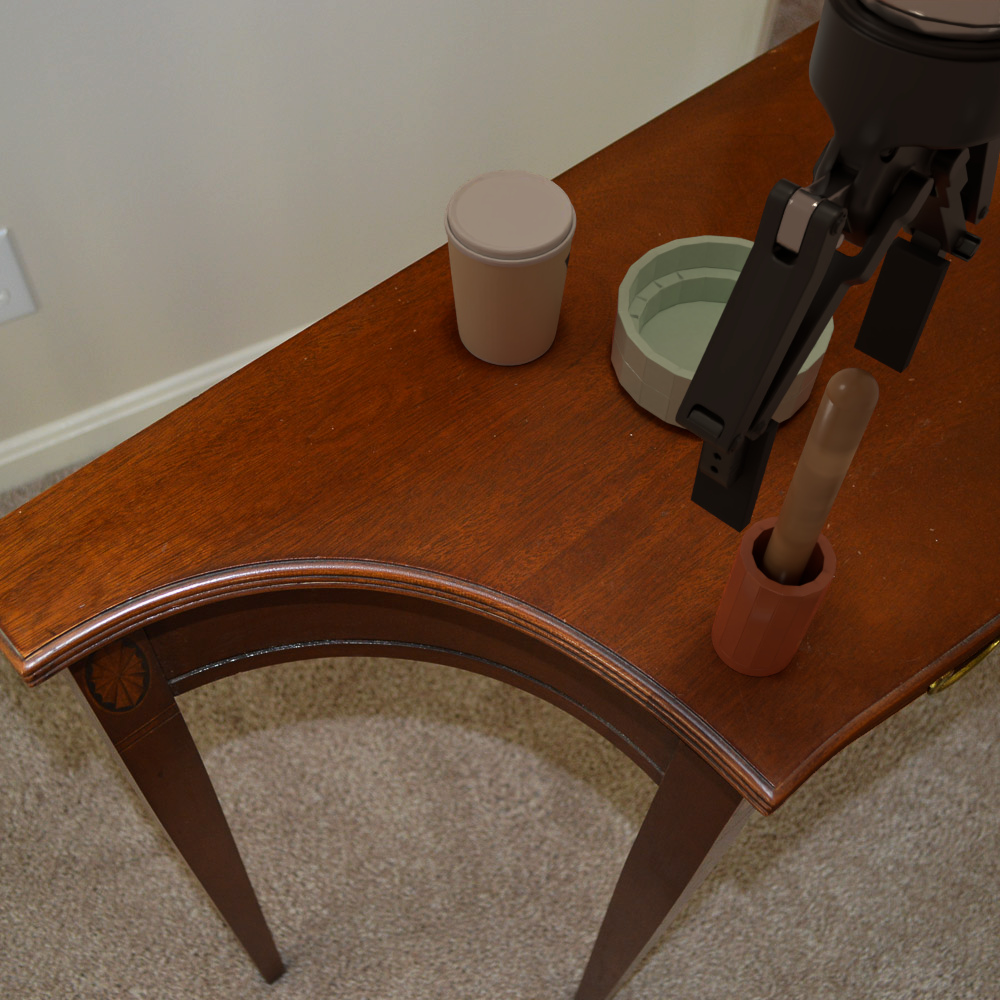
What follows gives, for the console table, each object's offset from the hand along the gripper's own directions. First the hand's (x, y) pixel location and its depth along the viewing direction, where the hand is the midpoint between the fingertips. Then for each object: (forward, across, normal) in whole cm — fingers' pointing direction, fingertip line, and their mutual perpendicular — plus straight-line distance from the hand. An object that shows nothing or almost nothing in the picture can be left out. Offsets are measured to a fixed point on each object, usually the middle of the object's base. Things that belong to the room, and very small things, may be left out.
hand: (804, 430), depth 52 cm
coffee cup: (+21, -12, -30) cm, 39 cm away
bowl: (+21, -20, -16) cm, 34 cm away
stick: (+21, -3, 0) cm, 21 cm away
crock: (+22, -3, 0) cm, 22 cm away
